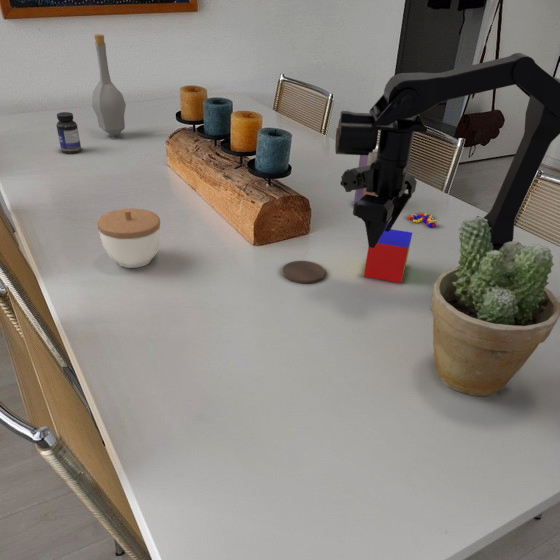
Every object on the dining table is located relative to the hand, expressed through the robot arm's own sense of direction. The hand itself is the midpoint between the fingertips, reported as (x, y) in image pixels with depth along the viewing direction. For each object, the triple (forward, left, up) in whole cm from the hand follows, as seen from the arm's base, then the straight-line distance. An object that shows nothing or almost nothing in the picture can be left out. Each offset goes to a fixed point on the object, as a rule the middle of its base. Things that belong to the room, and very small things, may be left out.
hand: (379, 238), depth 105 cm
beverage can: (+43, +17, -11) cm, 47 cm away
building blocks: (+41, 0, -11) cm, 42 cm away
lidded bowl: (-15, +49, -11) cm, 52 cm away
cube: (+9, 0, -11) cm, 14 cm away
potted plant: (-19, -24, -11) cm, 33 cm away
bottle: (+54, +113, -11) cm, 126 cm away
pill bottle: (+34, +113, -11) cm, 118 cm away
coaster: (-1, +15, -11) cm, 18 cm away
